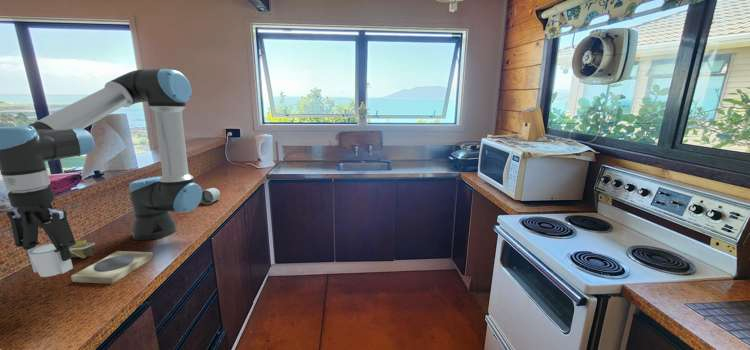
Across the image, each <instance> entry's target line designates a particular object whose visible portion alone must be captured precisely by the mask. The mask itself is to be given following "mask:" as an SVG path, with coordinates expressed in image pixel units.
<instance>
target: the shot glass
mask: <svg viewBox="0 0 750 350" xmlns="http://www.w3.org/2000/svg"><path fill="white" fill-rule="evenodd" d="M54 250H57V249H56V248H55V246H54V245H53V243H52V242H51V243H50V242H49V243H45V244H42V245H41V246H39V247H36V248H34V249H32V250H30V252H29V255H30V257H31V259H32V261H33V263H34V265H35V267H36V269H37V271H38V272H37V273H38V276H40V277H41V278H47V277H54V276H57V275H60V271H59V267H58V264H57V261H56V257H55V254H54Z"/></svg>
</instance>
